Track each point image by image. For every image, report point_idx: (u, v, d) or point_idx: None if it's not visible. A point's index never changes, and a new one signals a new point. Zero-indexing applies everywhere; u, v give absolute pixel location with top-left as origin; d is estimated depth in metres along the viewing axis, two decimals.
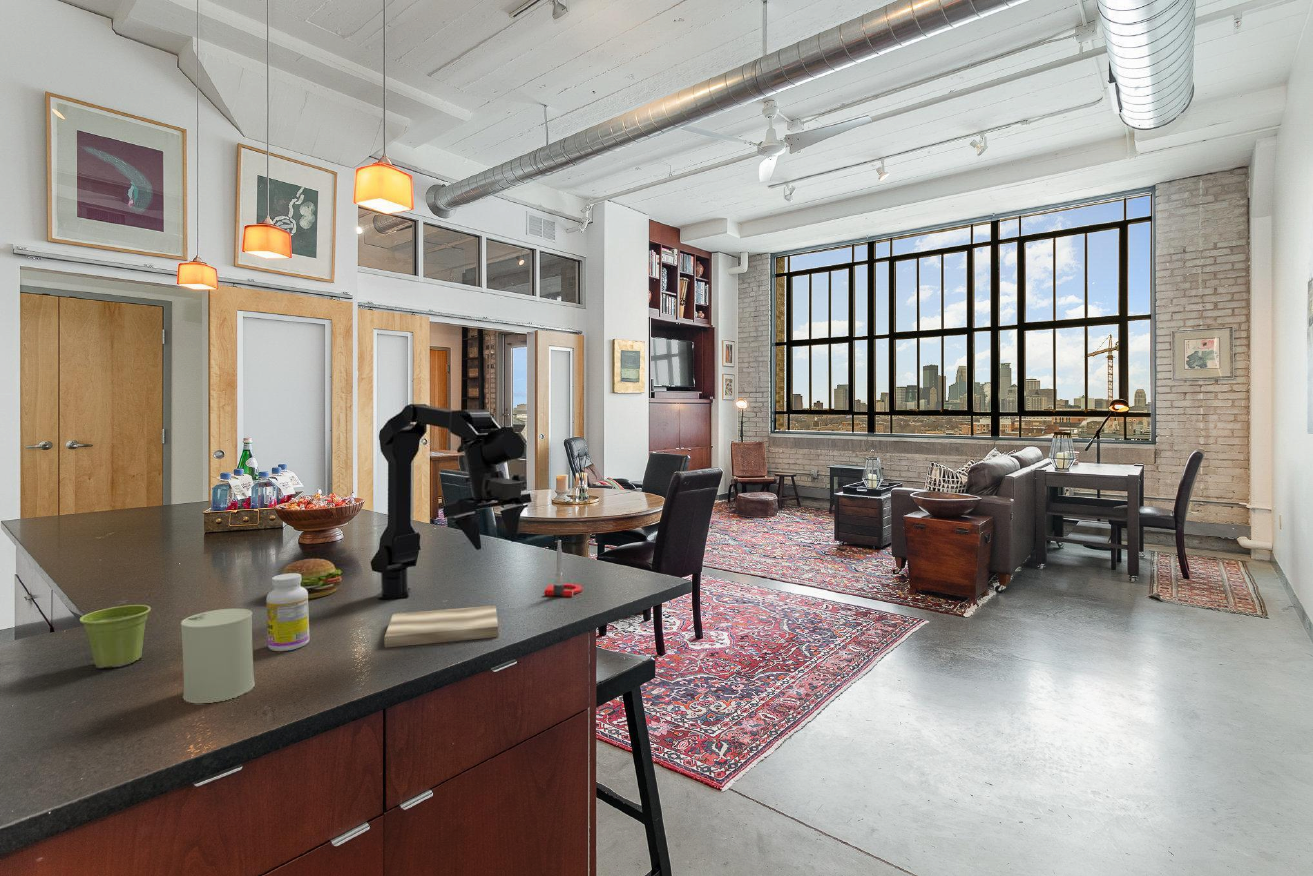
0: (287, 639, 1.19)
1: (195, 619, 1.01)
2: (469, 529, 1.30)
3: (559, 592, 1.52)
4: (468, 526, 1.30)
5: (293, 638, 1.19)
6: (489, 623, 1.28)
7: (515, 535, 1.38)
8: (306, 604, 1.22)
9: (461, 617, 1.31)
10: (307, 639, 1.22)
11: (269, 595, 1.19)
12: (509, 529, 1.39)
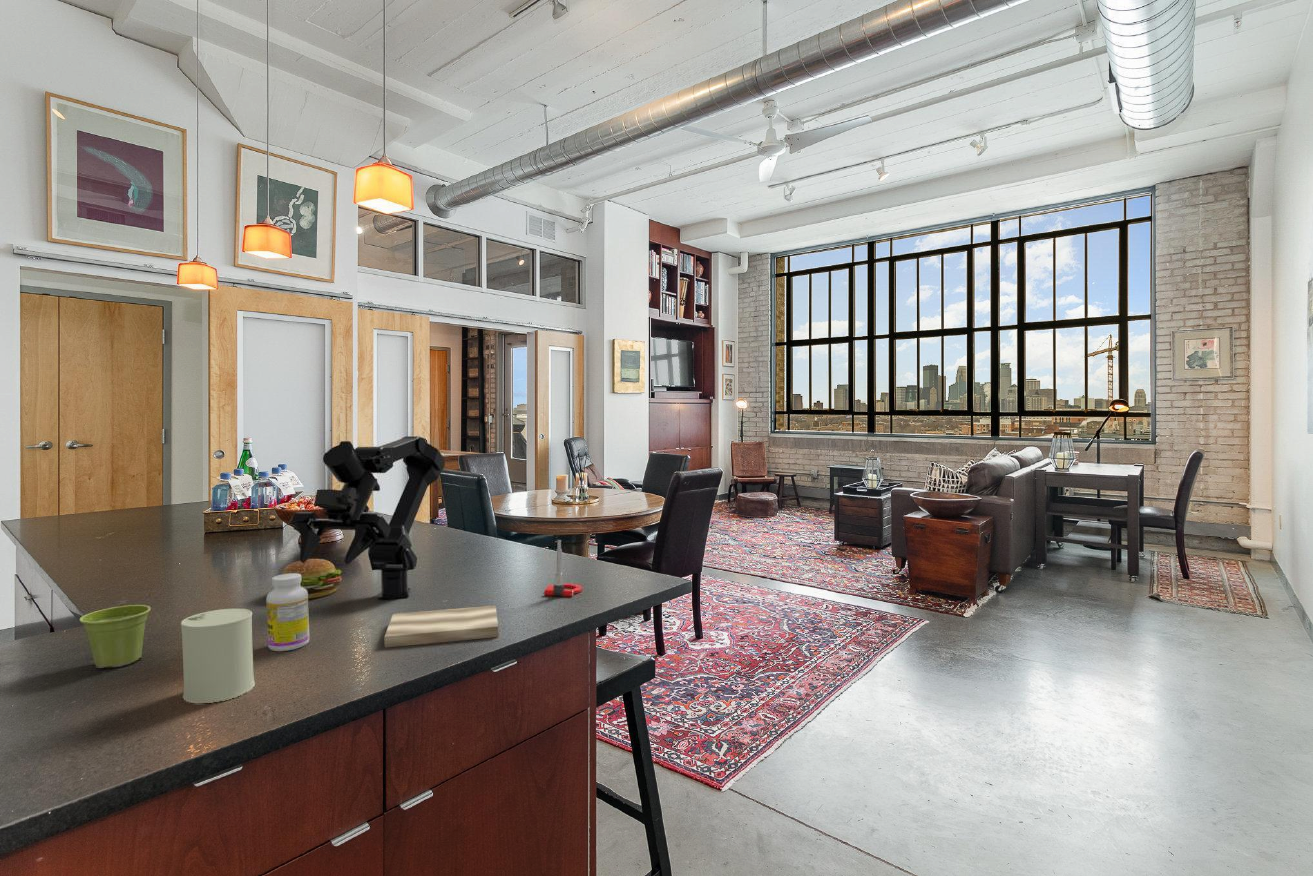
0: (287, 639, 1.19)
1: (195, 619, 1.01)
2: None
3: (559, 592, 1.52)
4: None
5: (293, 638, 1.19)
6: (489, 623, 1.28)
7: (347, 555, 1.28)
8: (306, 604, 1.22)
9: (461, 617, 1.31)
10: (307, 639, 1.22)
11: (269, 595, 1.19)
12: None
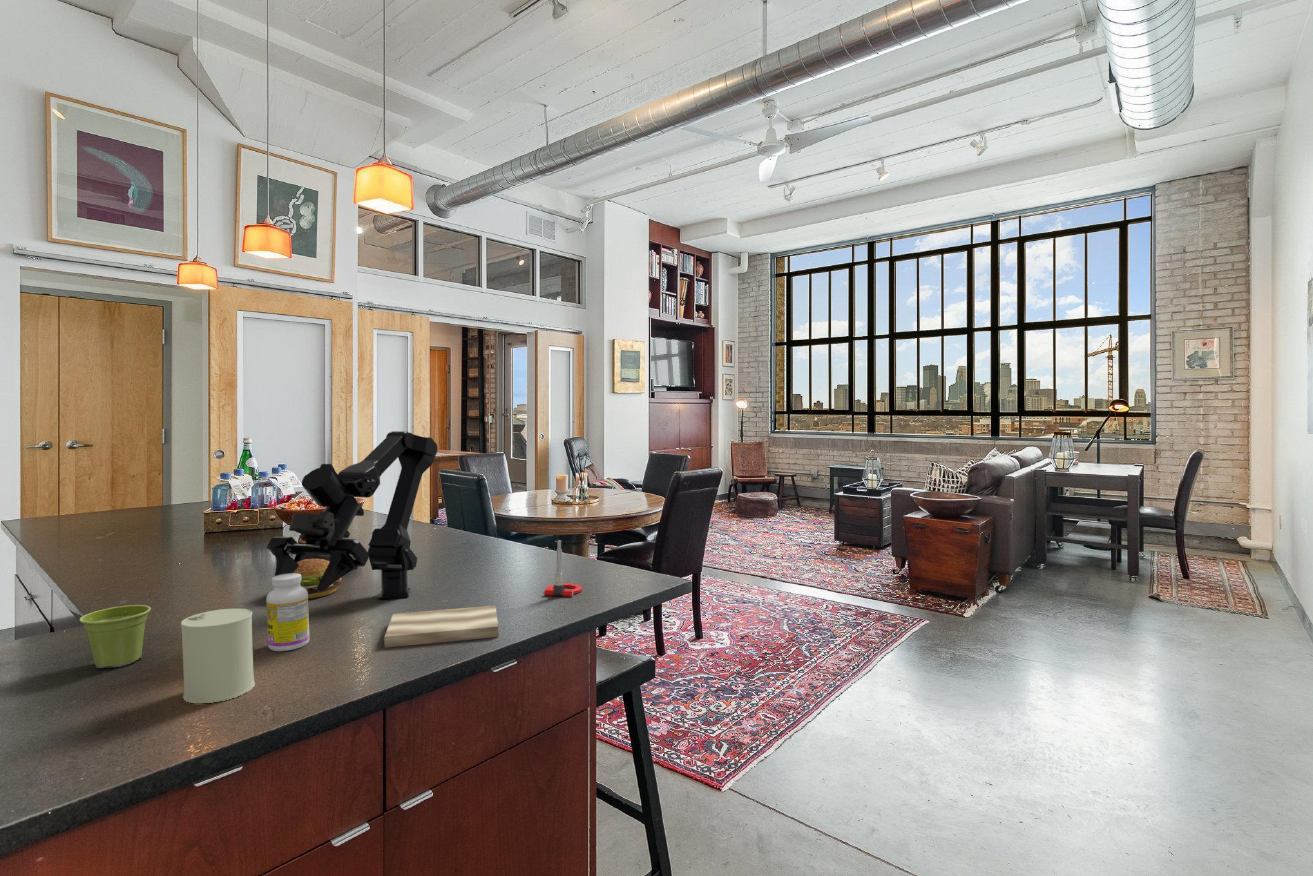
0: (287, 639, 1.19)
1: (195, 619, 1.01)
2: None
3: (559, 592, 1.52)
4: None
5: (293, 638, 1.19)
6: (489, 623, 1.28)
7: (320, 583, 1.23)
8: (306, 604, 1.22)
9: (461, 617, 1.31)
10: (307, 639, 1.22)
11: (269, 595, 1.19)
12: None
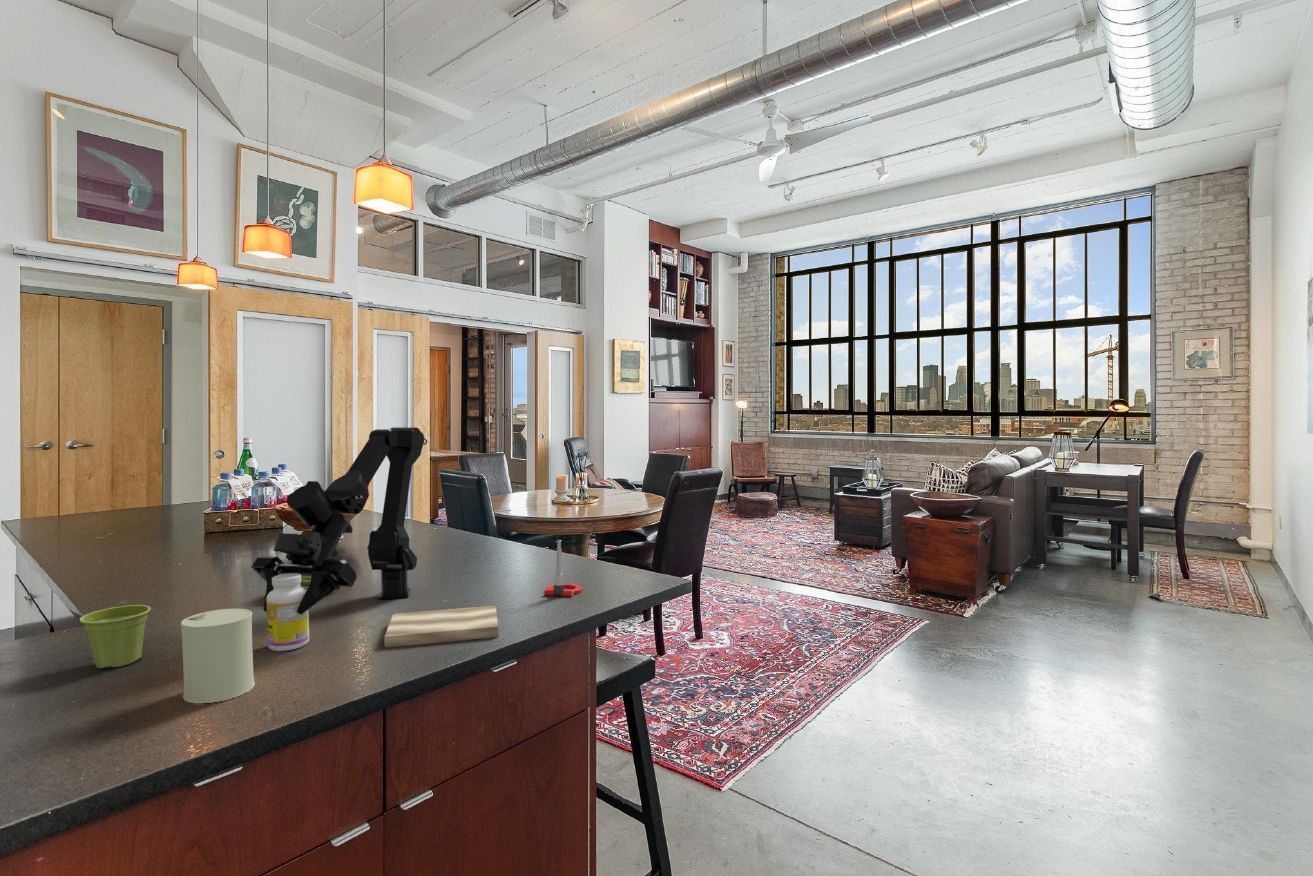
0: (287, 639, 1.19)
1: (195, 619, 1.01)
2: None
3: (558, 592, 1.52)
4: None
5: (293, 638, 1.19)
6: (489, 623, 1.28)
7: (300, 605, 1.20)
8: None
9: (461, 617, 1.31)
10: (307, 639, 1.22)
11: (269, 595, 1.19)
12: None
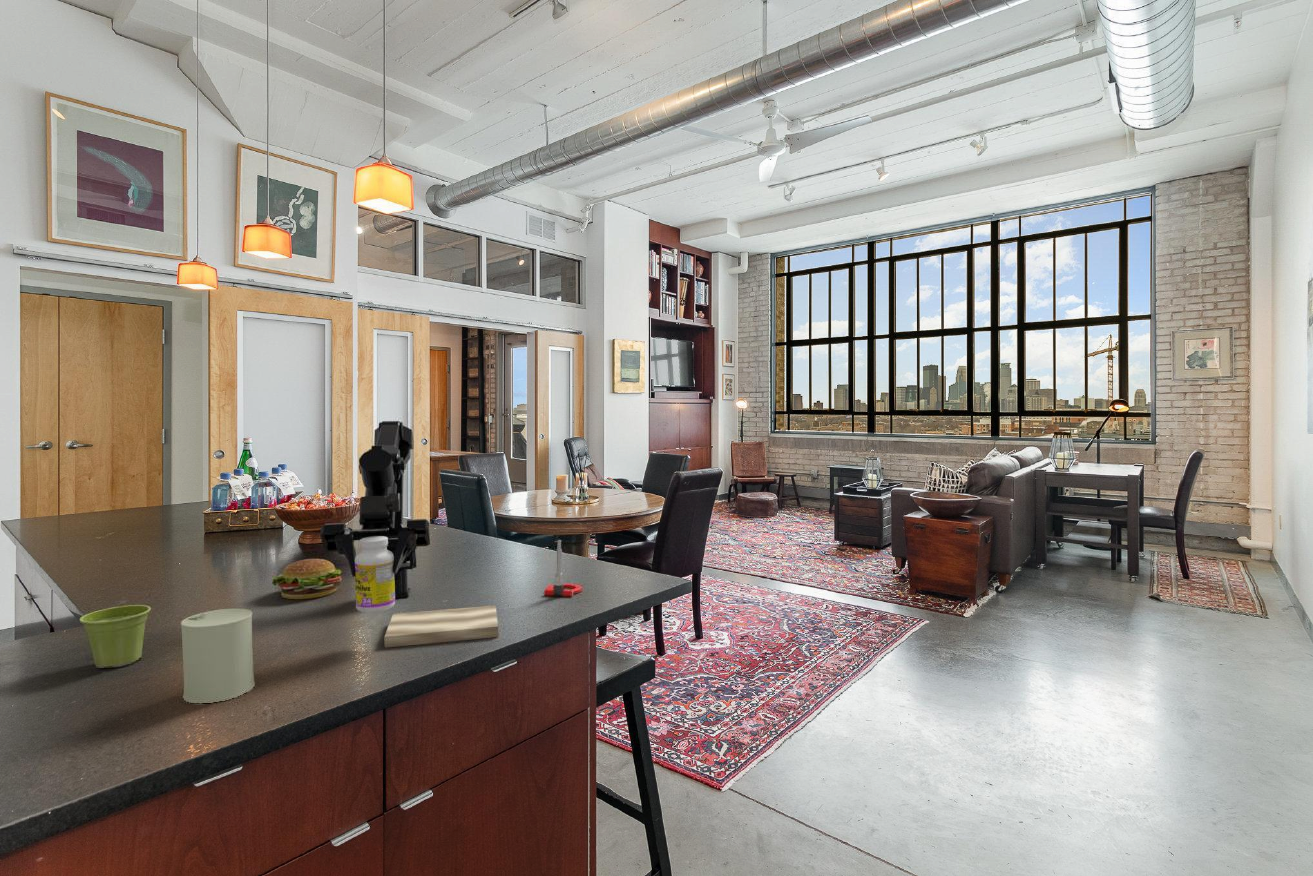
0: (385, 599, 1.20)
1: (195, 619, 1.01)
2: None
3: (559, 592, 1.53)
4: None
5: (389, 597, 1.21)
6: (489, 623, 1.28)
7: (395, 564, 1.22)
8: None
9: (461, 617, 1.31)
10: None
11: (362, 557, 1.19)
12: None
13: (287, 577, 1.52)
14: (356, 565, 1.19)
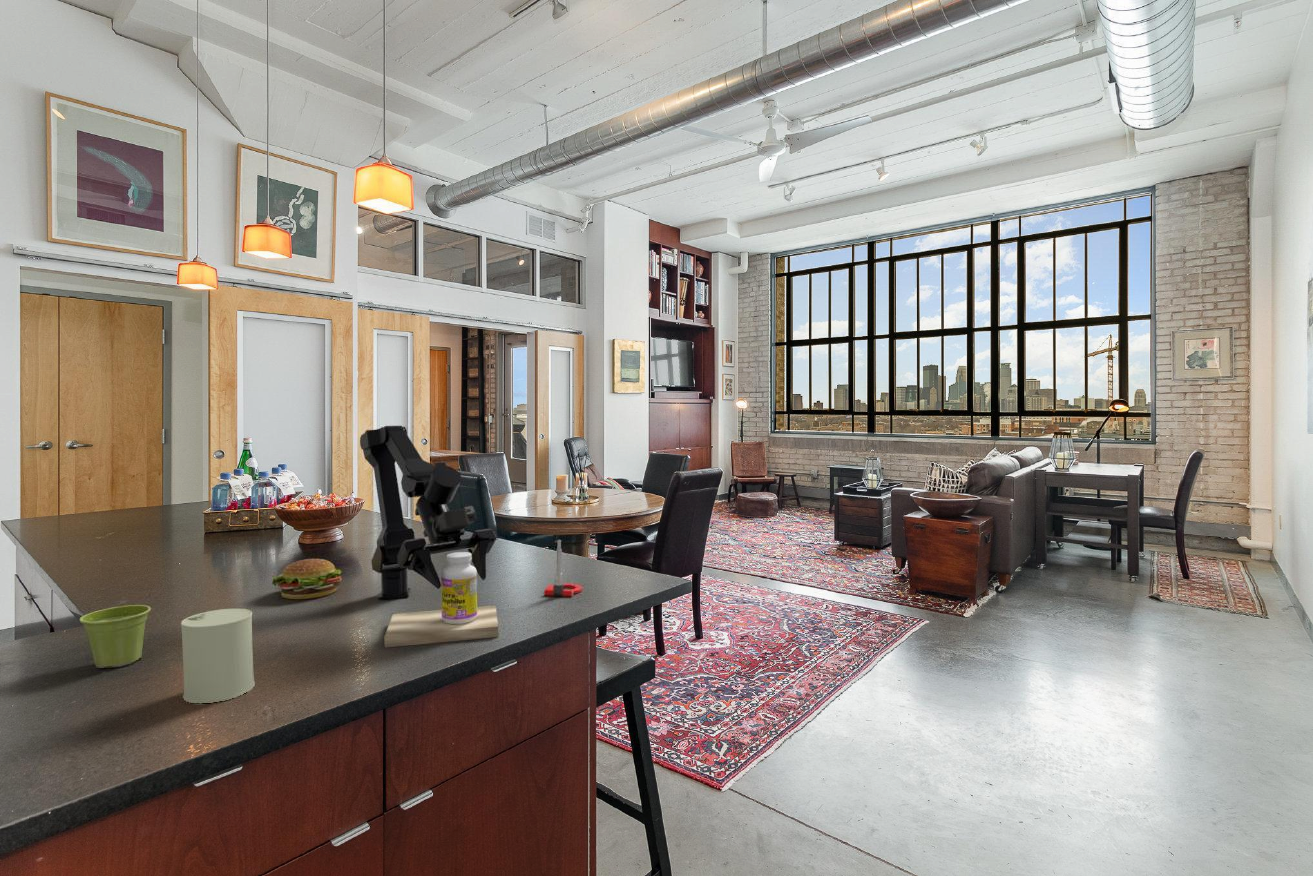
0: (475, 609, 1.29)
1: (195, 619, 1.01)
2: (426, 570, 1.27)
3: (558, 592, 1.53)
4: (425, 568, 1.27)
5: (476, 607, 1.30)
6: (489, 623, 1.28)
7: (484, 571, 1.32)
8: None
9: None
10: None
11: (456, 572, 1.26)
12: (478, 569, 1.33)
13: (287, 577, 1.52)
14: (449, 580, 1.26)
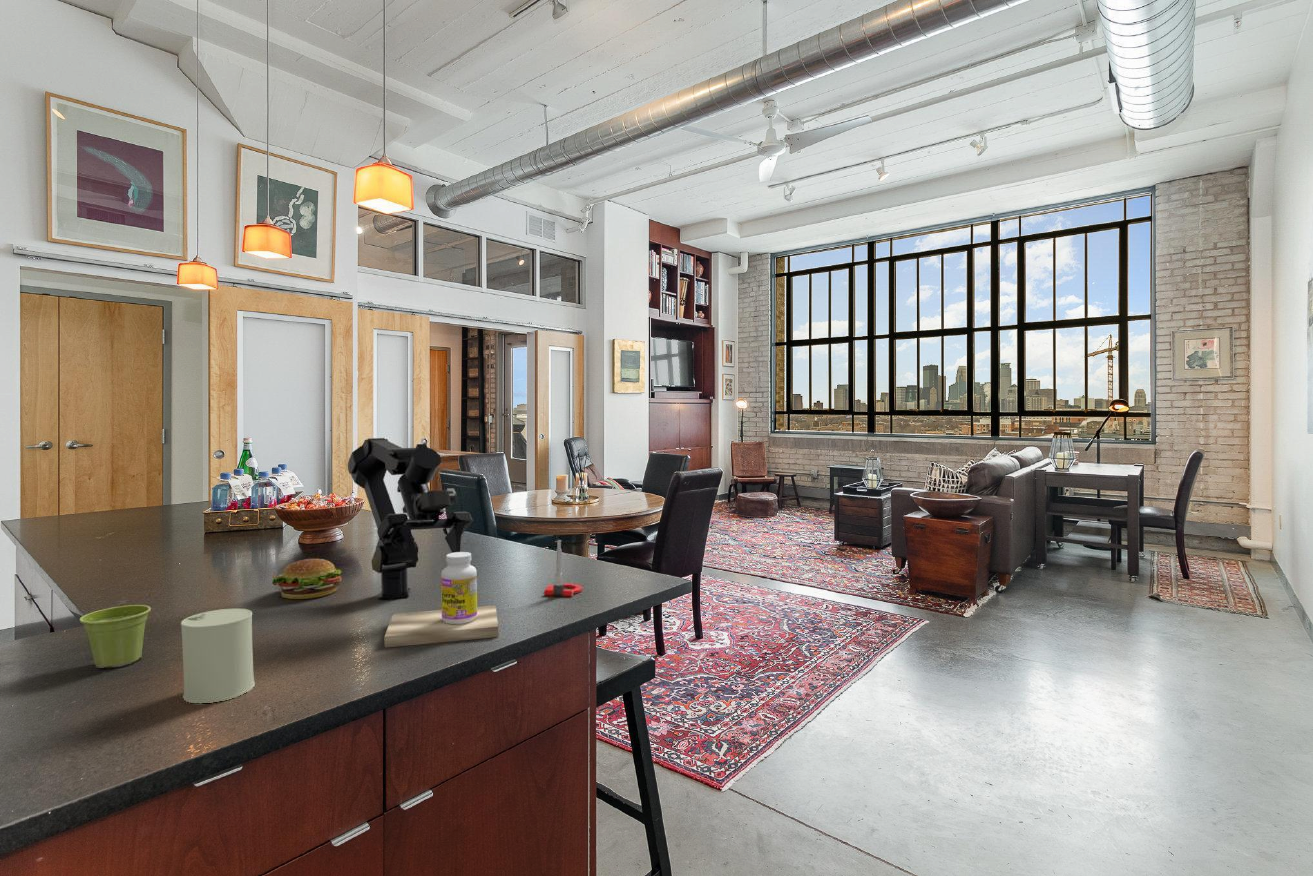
0: (475, 609, 1.29)
1: (195, 619, 1.01)
2: (405, 544, 1.33)
3: (558, 592, 1.53)
4: (403, 542, 1.34)
5: (476, 607, 1.30)
6: (489, 623, 1.28)
7: (458, 551, 1.39)
8: None
9: None
10: None
11: (456, 572, 1.26)
12: (453, 548, 1.40)
13: (287, 577, 1.52)
14: (449, 580, 1.26)
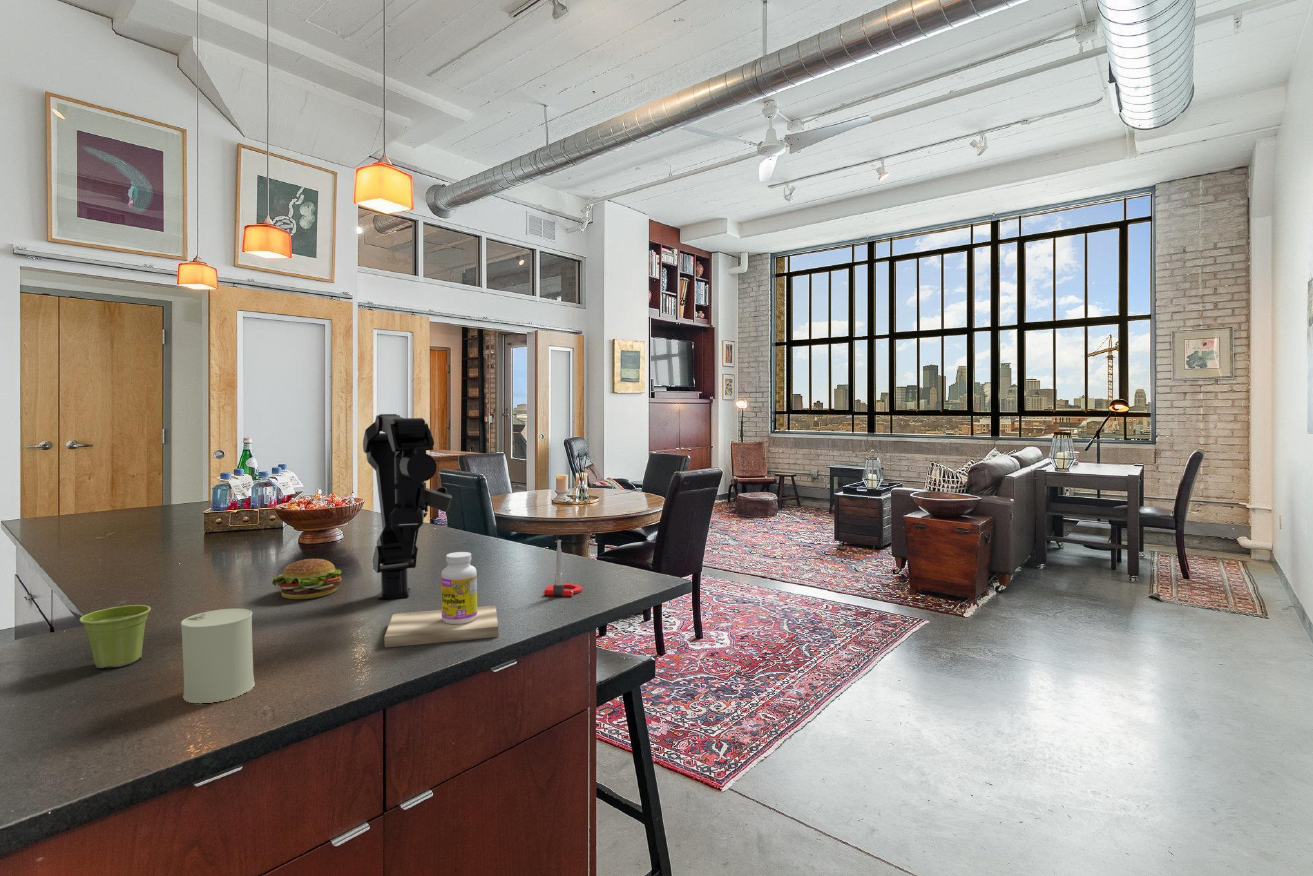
0: (475, 609, 1.29)
1: (195, 619, 1.01)
2: (406, 536, 1.35)
3: (558, 592, 1.53)
4: (406, 533, 1.35)
5: (476, 607, 1.30)
6: (489, 623, 1.28)
7: (416, 541, 1.46)
8: None
9: None
10: None
11: (456, 572, 1.26)
12: None
13: (287, 577, 1.52)
14: (449, 580, 1.26)
